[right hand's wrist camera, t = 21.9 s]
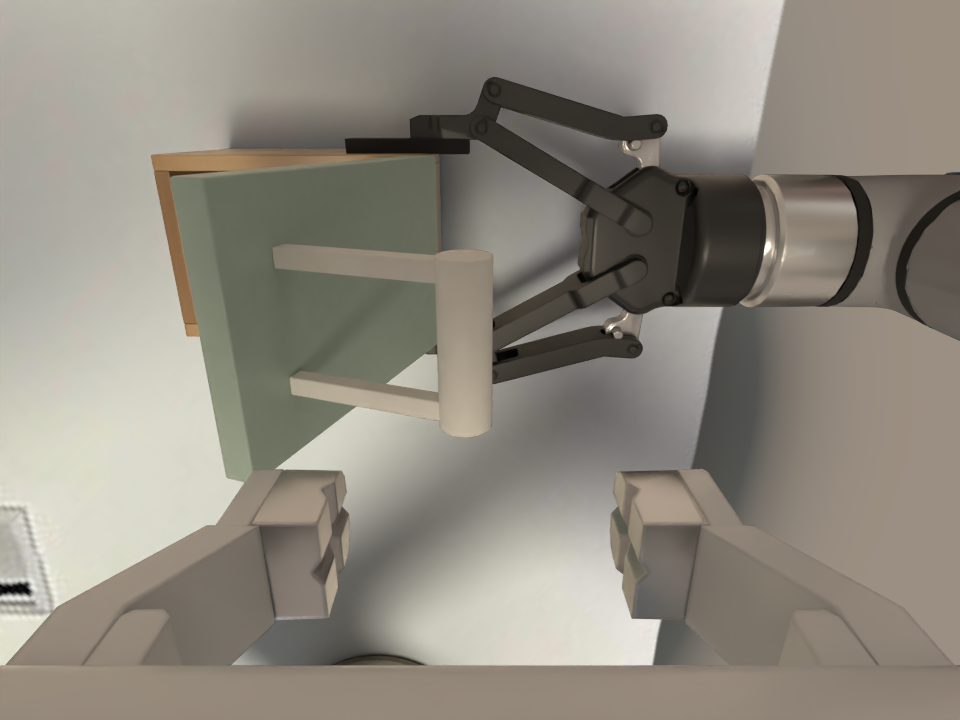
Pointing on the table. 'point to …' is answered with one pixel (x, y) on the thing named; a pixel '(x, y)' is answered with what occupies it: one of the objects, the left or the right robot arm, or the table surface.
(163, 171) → the chest
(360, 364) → the lid
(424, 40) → the table surface
